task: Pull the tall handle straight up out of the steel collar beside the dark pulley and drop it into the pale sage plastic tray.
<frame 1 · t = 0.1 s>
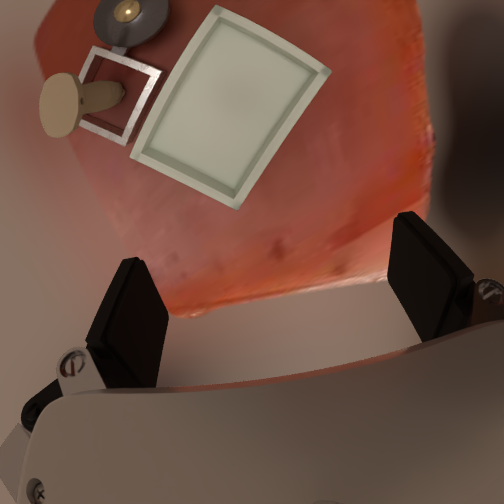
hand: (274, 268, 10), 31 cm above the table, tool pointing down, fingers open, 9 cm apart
tray: (227, 105, 34), on the table
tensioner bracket: (115, 93, 32), on the table
handle: (116, 93, 32), resting in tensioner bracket
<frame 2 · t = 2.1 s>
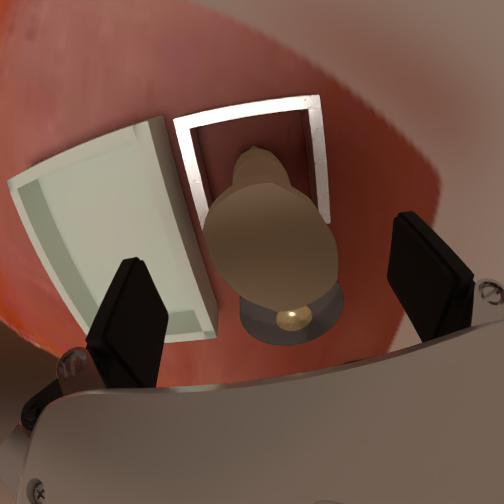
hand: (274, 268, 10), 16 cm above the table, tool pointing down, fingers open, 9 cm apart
tray: (121, 240, 28), on the table
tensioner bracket: (256, 162, 24), on the table
handle: (256, 162, 25), resting in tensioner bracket
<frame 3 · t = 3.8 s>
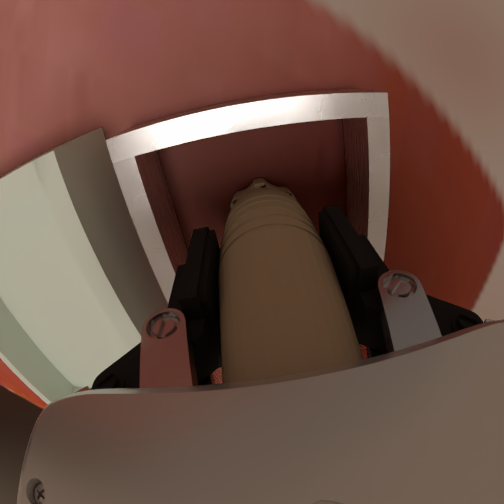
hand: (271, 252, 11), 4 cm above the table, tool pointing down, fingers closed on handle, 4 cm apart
tray: (72, 308, 18), on the table
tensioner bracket: (262, 205, 15), on the table
handle: (262, 204, 15), resting in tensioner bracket, touching gripper
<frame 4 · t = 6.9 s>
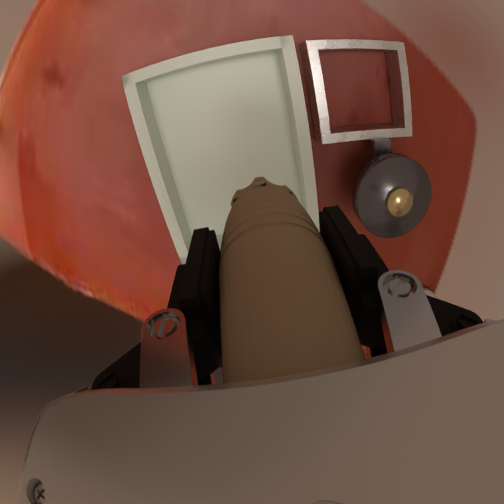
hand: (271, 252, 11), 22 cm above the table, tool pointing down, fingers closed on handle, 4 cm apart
tray: (229, 148, 30), on the table
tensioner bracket: (355, 87, 26), on the table
handle: (262, 202, 15), point 18 cm above the table, touching gripper
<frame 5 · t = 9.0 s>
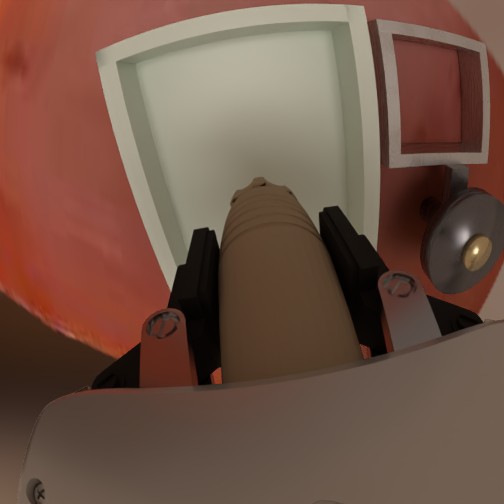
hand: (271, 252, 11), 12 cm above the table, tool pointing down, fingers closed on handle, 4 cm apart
tray: (255, 165, 21), on the table
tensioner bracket: (425, 93, 18), on the table
handle: (262, 203, 15), point 7 cm above the table, touching gripper
when the fingers open (8 cm above the table, at t = 10.2 s): handle drops 2 cm, resting on tray.
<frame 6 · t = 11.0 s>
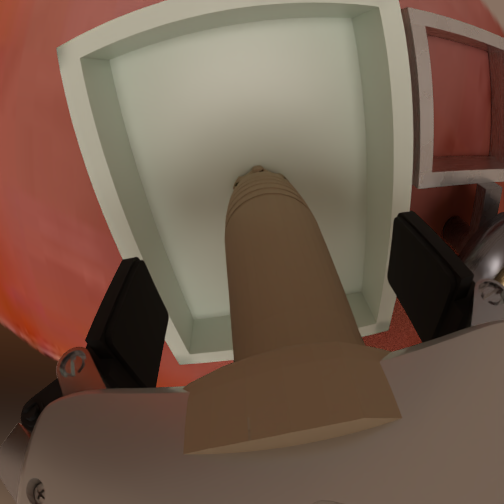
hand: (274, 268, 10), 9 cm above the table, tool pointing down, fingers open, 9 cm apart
tray: (257, 182, 18), on the table
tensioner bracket: (455, 98, 14), on the table
handle: (260, 188, 17), point 1 cm above the table, touching tray
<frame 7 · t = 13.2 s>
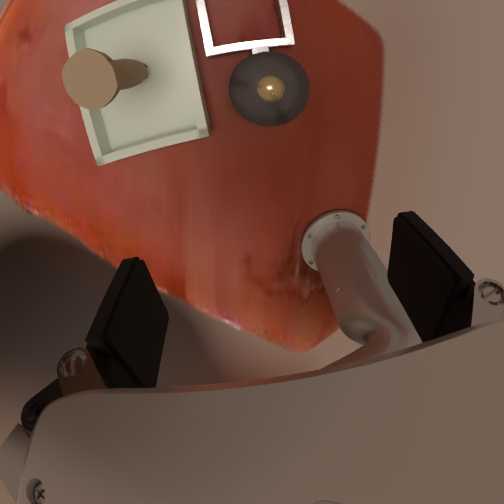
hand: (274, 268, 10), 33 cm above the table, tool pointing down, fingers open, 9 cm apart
tray: (140, 72, 31), on the table
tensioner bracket: (243, 15, 28), on the table
handle: (138, 72, 31), point 1 cm above the table, touching tray
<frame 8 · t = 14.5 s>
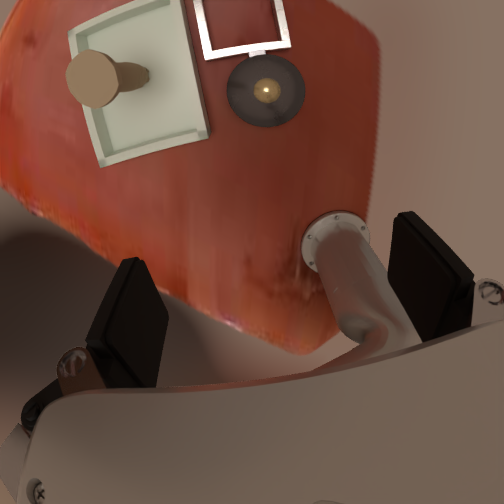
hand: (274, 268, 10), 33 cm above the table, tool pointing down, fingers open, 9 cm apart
tray: (141, 76, 33), on the table
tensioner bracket: (240, 20, 29), on the table
handle: (140, 76, 32), point 1 cm above the table, touching tray
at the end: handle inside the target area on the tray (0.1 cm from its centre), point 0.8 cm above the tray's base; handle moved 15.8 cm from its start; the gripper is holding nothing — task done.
